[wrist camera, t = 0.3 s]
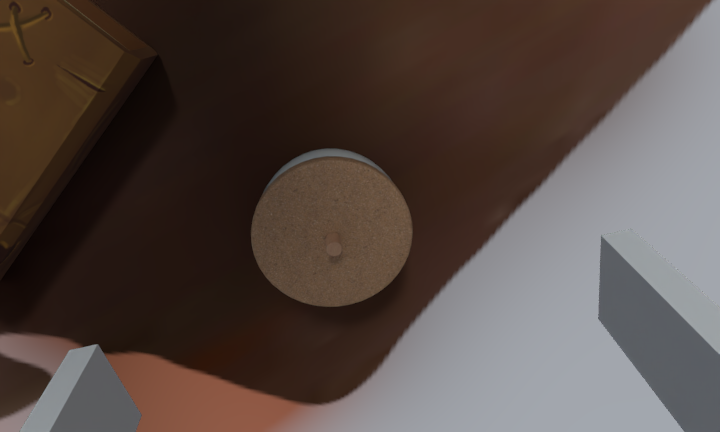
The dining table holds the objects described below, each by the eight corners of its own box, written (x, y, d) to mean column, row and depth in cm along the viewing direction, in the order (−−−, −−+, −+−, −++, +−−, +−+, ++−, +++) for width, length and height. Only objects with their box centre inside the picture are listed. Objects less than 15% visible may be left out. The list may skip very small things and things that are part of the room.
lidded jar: (411, 150, 39) (440, 189, 31) (374, 268, 43) (390, 333, 34) (276, 117, 37) (266, 148, 29) (249, 243, 41) (233, 306, 32)
